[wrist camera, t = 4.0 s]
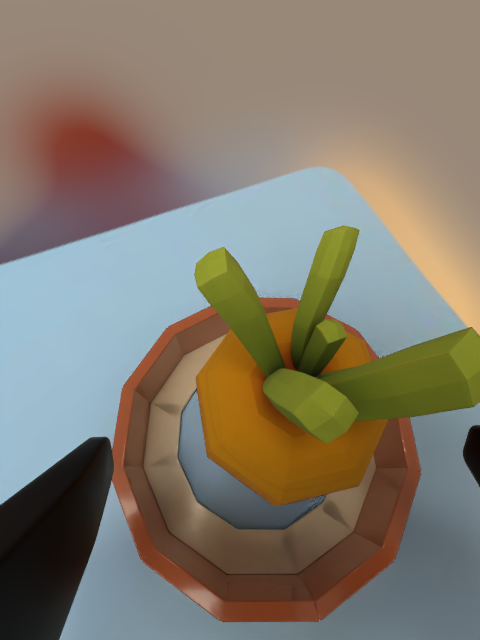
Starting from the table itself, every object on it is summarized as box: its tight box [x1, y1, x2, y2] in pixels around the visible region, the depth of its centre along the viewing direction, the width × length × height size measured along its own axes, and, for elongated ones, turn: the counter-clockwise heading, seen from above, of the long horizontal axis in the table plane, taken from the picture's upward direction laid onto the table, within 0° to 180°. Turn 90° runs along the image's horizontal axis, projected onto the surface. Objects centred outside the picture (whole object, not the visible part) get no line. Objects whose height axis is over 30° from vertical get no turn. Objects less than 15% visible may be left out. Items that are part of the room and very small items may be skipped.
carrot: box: [194, 226, 480, 507], centre depth 10 cm, size 5×5×15 cm
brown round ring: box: [112, 298, 421, 622], centre depth 16 cm, size 13×13×4 cm
